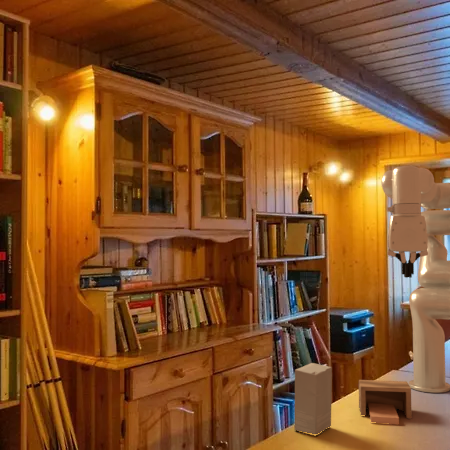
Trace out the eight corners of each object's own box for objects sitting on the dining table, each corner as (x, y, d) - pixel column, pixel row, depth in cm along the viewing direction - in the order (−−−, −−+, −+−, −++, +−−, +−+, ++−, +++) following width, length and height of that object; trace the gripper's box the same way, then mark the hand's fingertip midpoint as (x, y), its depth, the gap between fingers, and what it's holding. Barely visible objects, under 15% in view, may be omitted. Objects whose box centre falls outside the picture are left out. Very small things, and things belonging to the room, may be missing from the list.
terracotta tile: (367, 411, 154) (367, 403, 154) (393, 412, 153) (393, 404, 153) (370, 425, 142) (370, 416, 143) (399, 426, 141) (398, 418, 141)
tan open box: (359, 407, 156) (358, 378, 156) (406, 409, 154) (406, 380, 154) (361, 416, 148) (360, 386, 148) (411, 418, 146) (411, 388, 146)
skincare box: (309, 422, 143) (309, 361, 144) (334, 428, 139) (333, 365, 139) (292, 432, 137) (291, 368, 137) (317, 438, 132) (316, 372, 133)
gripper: (380, 210, 150) (381, 278, 149) (437, 209, 147) (439, 278, 147) (377, 212, 157) (378, 276, 157) (432, 211, 155) (433, 276, 154)
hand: (407, 277), depth 152 cm, fingers closed
